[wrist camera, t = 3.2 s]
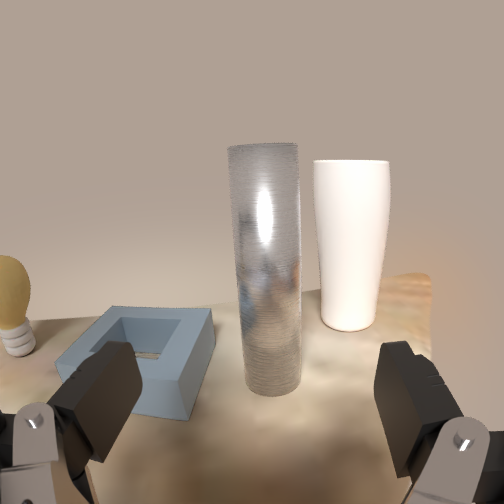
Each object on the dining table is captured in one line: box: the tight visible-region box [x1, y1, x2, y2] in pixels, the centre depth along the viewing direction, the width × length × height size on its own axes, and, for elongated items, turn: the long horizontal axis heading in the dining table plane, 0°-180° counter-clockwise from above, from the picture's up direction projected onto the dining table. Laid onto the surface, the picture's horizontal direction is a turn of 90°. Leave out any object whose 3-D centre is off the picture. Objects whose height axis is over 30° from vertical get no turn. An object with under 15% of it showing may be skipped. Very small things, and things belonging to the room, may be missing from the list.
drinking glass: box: [313, 160, 391, 332], centre depth 27 cm, size 7×7×15 cm
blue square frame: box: [54, 306, 216, 421], centre depth 22 cm, size 10×10×4 cm
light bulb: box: [0, 255, 36, 357], centre depth 23 cm, size 6×6×10 cm
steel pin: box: [227, 143, 302, 397], centre depth 20 cm, size 4×4×16 cm
